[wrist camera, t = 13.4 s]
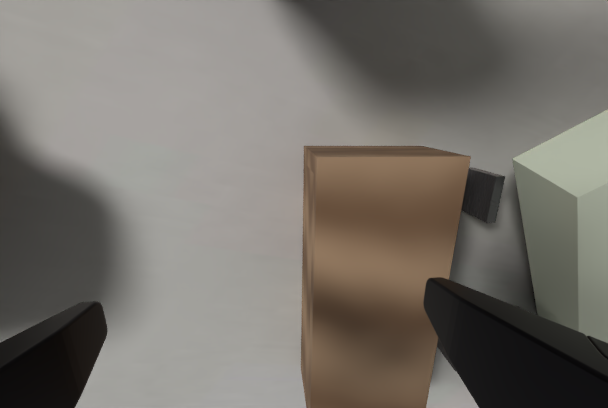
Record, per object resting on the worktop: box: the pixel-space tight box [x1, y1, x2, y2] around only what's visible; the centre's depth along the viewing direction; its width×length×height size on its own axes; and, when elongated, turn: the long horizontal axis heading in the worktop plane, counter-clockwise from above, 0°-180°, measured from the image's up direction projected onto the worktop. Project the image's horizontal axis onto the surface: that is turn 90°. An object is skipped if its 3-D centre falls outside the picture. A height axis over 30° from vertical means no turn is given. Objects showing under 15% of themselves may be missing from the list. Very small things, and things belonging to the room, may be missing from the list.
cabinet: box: [301, 146, 519, 408], centre depth 20 cm, size 18×19×5 cm
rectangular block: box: [512, 110, 608, 343], centre depth 19 cm, size 18×5×8 cm
